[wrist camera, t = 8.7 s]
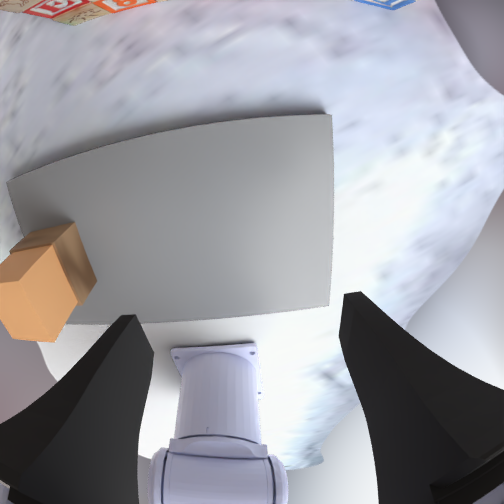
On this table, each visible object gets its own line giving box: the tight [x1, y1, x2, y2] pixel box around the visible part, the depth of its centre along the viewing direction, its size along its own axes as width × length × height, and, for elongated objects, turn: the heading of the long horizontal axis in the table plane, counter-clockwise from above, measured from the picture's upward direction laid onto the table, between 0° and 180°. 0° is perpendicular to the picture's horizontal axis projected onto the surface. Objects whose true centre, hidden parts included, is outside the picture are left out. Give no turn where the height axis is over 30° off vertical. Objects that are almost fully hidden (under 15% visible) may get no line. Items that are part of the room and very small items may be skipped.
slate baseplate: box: [6, 114, 334, 324], centre depth 19 cm, size 14×24×1 cm, turn 96°
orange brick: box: [0, 245, 78, 342], centre depth 14 cm, size 4×4×4 cm
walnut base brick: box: [9, 222, 97, 306], centre depth 17 cm, size 5×5×3 cm
